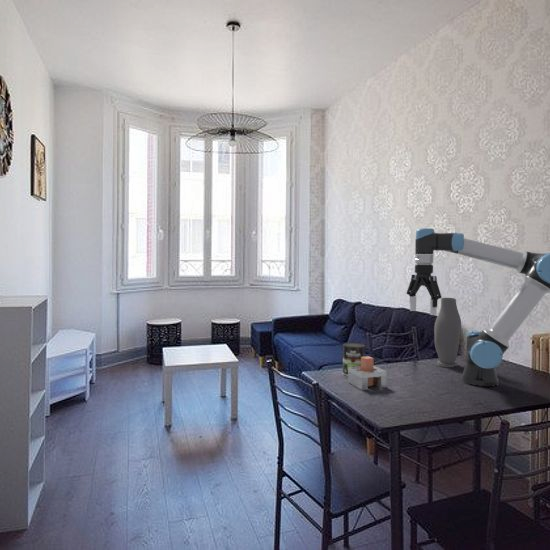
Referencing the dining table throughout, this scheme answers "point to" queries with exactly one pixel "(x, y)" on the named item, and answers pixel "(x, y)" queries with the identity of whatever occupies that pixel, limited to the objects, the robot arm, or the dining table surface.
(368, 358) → the orange rectangular block
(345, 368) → the coffee can
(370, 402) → the dining table surface
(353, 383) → the square tube ring
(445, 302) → the vase
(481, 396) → the dining table surface
